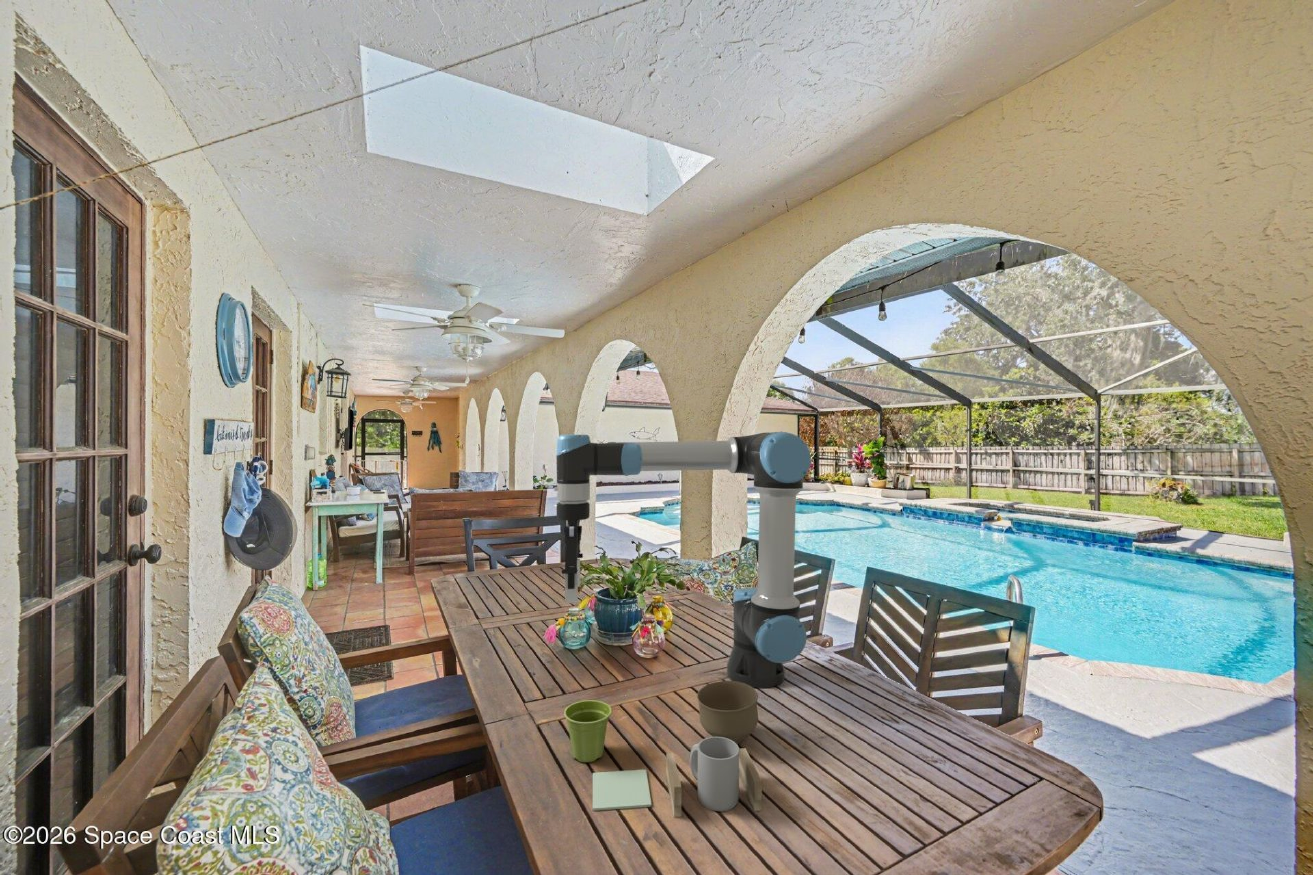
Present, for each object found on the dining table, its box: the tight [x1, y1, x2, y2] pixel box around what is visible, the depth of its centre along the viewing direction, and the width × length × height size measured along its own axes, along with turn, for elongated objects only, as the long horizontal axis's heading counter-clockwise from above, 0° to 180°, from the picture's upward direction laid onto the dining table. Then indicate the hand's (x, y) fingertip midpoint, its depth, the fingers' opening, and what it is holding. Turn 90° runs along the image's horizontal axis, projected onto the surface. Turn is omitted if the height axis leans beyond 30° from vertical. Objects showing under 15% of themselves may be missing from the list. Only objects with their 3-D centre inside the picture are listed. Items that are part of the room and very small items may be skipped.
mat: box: [592, 769, 652, 812], centre depth 99 cm, size 10×10×1 cm
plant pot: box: [563, 699, 613, 763], centre depth 110 cm, size 9×9×9 cm
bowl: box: [696, 680, 759, 745], centre depth 115 cm, size 13×13×10 cm
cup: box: [689, 736, 740, 812], centre depth 98 cm, size 7×10×9 cm
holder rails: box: [665, 747, 763, 818], centre depth 98 cm, size 15×10×5 cm, turn 97°
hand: (572, 594), depth 127 cm, fingers open, 13 cm apart
